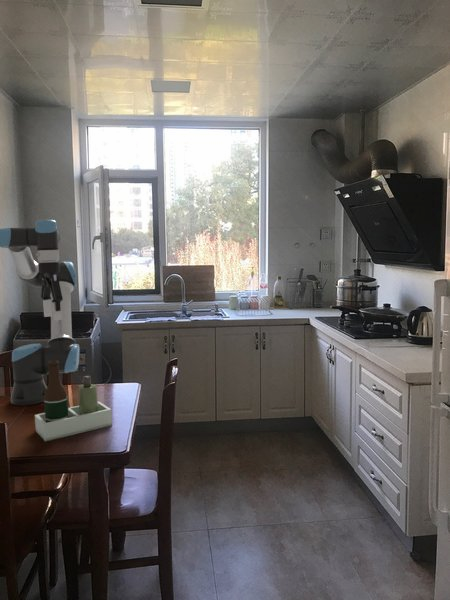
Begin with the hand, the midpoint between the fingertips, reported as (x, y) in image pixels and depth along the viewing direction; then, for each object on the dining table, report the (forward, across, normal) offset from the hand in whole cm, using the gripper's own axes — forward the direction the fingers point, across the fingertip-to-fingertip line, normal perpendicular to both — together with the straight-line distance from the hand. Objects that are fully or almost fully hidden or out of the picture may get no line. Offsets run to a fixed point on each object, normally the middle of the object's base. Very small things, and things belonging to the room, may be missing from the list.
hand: (52, 318), depth 186 cm
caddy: (+37, +21, -1) cm, 42 cm away
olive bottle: (+36, +21, +4) cm, 42 cm away
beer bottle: (+36, +21, -6) cm, 42 cm away
